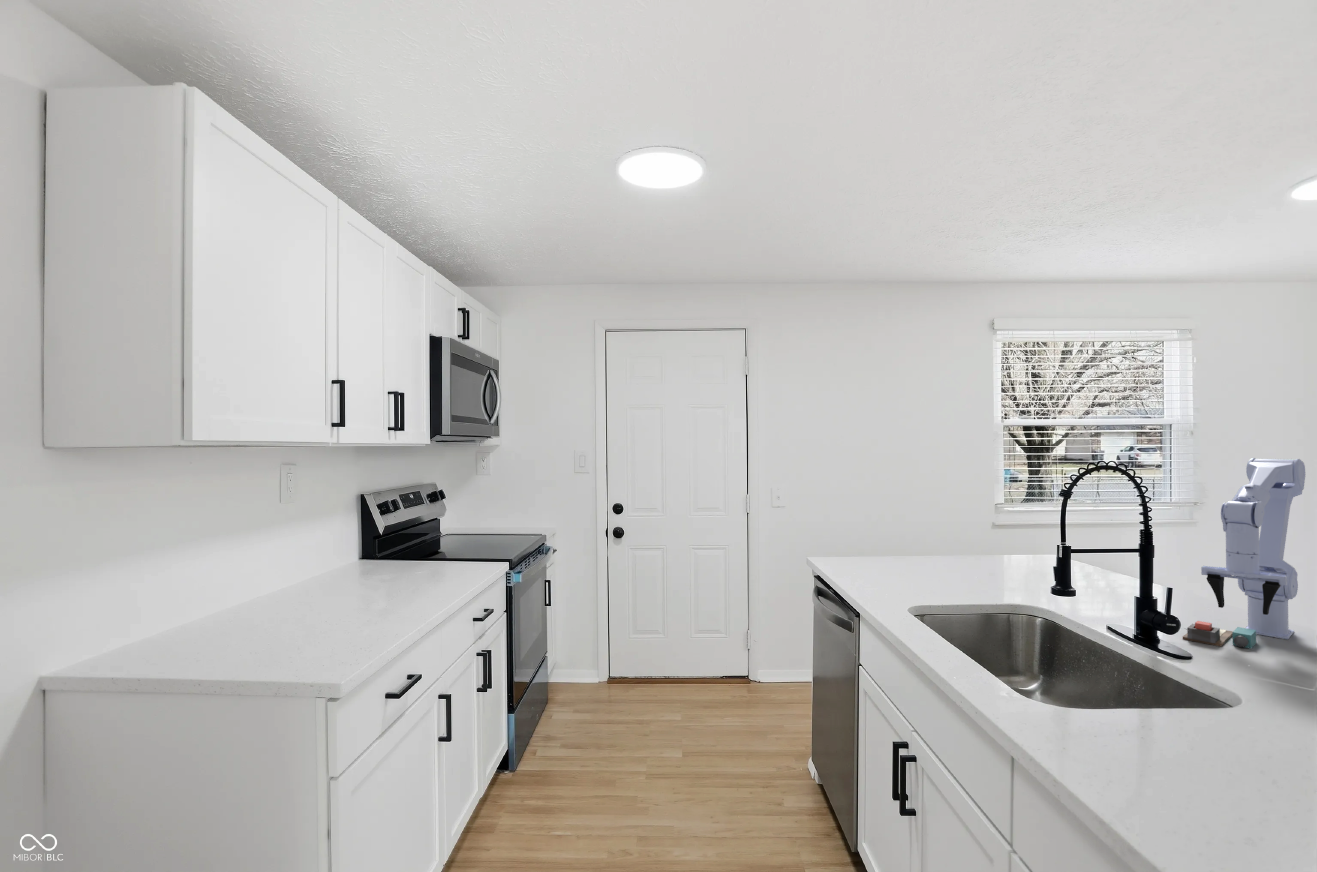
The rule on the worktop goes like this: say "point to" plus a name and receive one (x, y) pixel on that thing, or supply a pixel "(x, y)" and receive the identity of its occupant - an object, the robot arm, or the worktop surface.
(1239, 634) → the teal block
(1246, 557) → the robot arm
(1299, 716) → the worktop surface
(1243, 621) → the worktop surface
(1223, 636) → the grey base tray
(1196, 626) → the button
